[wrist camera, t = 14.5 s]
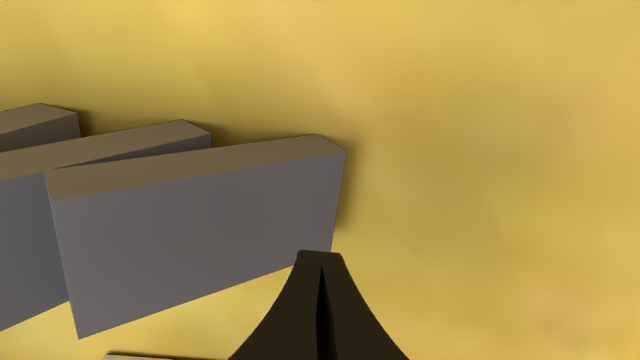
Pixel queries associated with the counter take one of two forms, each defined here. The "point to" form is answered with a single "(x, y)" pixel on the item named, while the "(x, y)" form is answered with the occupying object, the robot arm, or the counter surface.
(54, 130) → the domino
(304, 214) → the domino
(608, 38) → the counter surface
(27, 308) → the domino
